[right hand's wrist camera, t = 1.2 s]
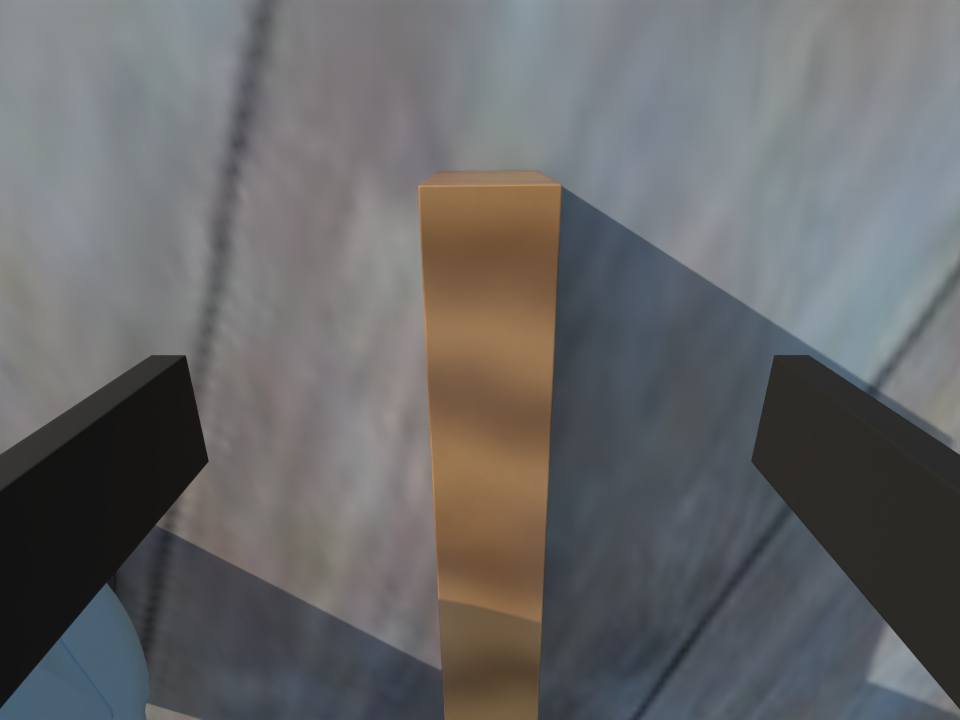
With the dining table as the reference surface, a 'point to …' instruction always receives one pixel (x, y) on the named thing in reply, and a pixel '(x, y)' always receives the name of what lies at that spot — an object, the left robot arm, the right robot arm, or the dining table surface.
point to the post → (490, 426)
